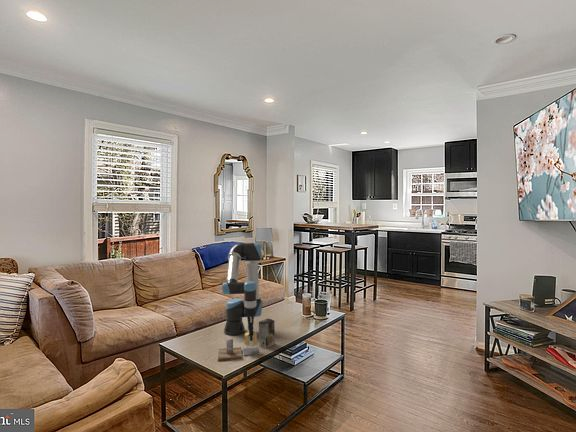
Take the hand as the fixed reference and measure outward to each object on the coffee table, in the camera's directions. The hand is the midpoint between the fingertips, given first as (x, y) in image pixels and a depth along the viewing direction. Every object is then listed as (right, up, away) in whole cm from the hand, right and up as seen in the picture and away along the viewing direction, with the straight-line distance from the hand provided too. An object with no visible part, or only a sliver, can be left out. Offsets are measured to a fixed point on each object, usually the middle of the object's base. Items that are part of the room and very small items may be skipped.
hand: (250, 342), depth 212 cm
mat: (0, -6, 0) cm, 6 cm away
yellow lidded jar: (0, 0, 0) cm, 0 cm away
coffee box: (+9, -6, +11) cm, 16 cm away
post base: (-12, -6, -4) cm, 14 cm away
